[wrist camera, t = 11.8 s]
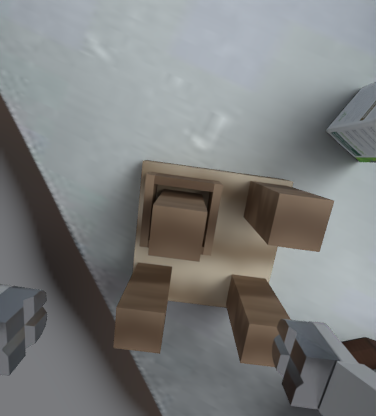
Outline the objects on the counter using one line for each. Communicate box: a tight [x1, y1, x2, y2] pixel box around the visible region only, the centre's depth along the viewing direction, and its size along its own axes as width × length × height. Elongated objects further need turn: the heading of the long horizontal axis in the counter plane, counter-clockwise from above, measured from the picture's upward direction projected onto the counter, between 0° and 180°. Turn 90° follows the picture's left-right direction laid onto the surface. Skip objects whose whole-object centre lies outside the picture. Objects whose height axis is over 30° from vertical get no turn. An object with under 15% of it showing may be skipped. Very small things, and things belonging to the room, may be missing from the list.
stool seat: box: [114, 160, 334, 367], centre depth 23 cm, size 16×16×10 cm
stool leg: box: [148, 189, 208, 262], centre depth 21 cm, size 4×4×8 cm
